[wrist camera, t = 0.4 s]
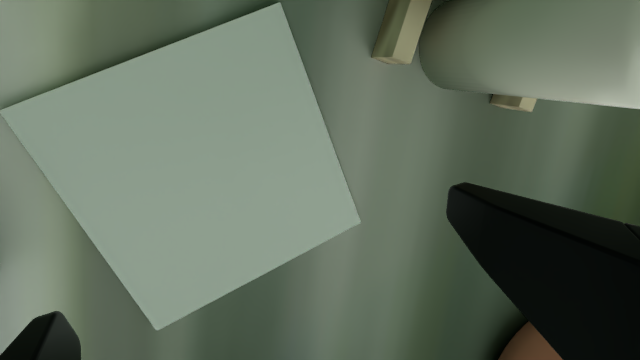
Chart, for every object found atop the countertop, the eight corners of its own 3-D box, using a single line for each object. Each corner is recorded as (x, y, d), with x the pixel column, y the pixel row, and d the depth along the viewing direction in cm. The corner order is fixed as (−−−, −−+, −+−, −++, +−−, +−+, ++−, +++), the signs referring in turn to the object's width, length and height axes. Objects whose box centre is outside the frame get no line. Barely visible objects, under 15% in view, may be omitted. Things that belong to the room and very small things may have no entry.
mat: (358, 220, 26) (361, 222, 25) (157, 326, 23) (156, 331, 23) (278, 3, 20) (280, 2, 20) (2, 109, 18) (-2, 110, 17)
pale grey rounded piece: (471, 99, 26) (681, 126, 15) (407, 74, 24) (597, 86, 13) (515, -18, 25) (780, -81, 14) (450, -56, 22) (704, -165, 12)
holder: (502, 107, 27) (531, 112, 25) (371, 57, 23) (392, 56, 20) (547, -10, 26) (583, -17, 23) (416, -87, 21) (444, -105, 19)
